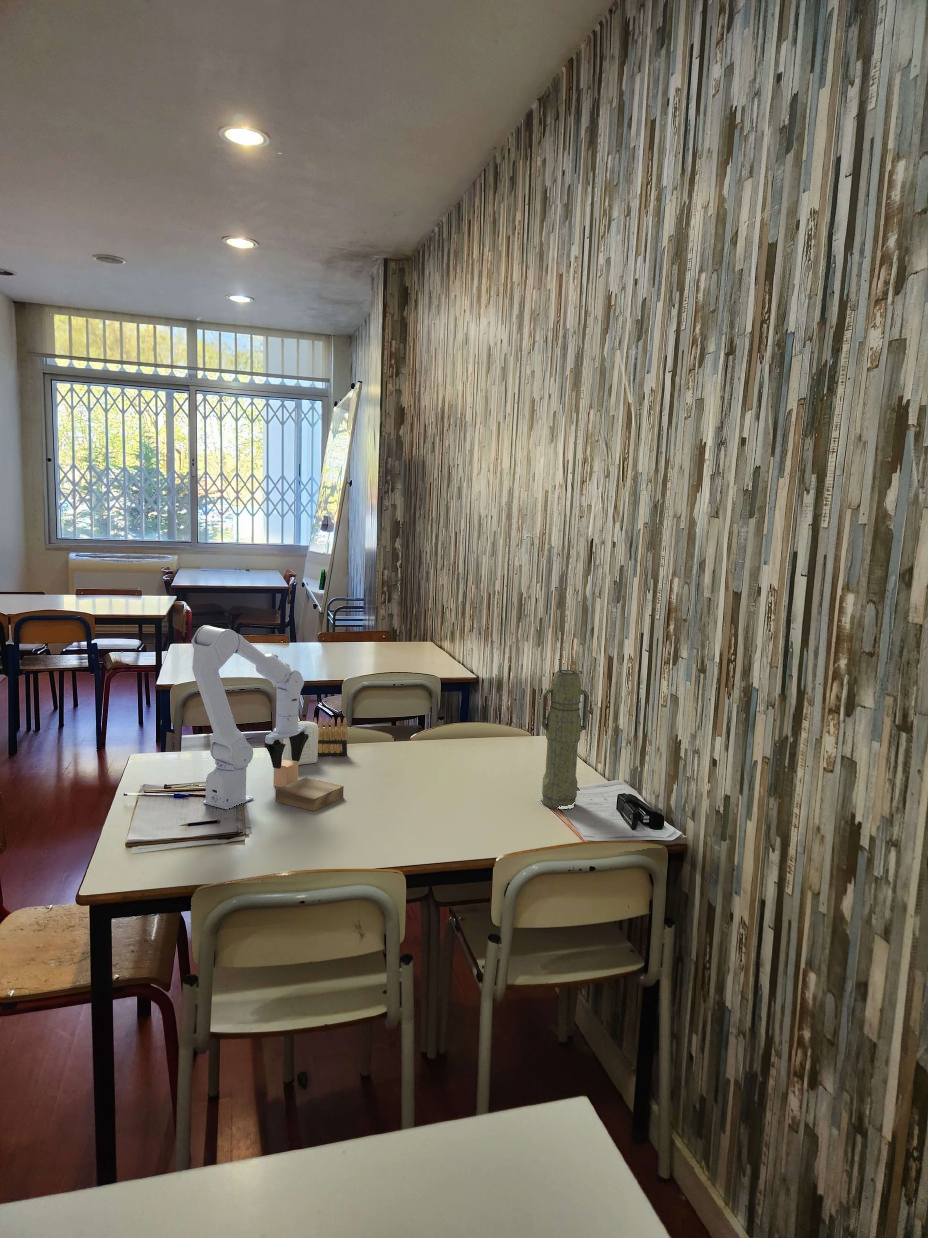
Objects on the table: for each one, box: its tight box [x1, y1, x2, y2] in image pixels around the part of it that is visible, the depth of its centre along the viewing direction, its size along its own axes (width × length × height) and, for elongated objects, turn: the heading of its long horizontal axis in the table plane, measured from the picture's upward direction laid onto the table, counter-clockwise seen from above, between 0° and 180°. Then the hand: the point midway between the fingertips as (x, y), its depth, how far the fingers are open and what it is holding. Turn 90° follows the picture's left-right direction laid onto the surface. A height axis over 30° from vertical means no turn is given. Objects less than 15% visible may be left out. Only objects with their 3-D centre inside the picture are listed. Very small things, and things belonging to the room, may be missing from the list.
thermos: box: [540, 669, 590, 810], centre depth 203 cm, size 9×12×35 cm
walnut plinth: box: [274, 776, 344, 812], centre depth 199 cm, size 12×12×3 cm
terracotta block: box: [273, 759, 299, 788], centre depth 209 cm, size 4×4×6 cm
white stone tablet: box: [282, 720, 319, 766], centre depth 228 cm, size 10×4×12 cm, turn 123°
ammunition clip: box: [312, 716, 348, 758], centre depth 237 cm, size 11×2×12 cm, turn 101°
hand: (286, 764), depth 209 cm, fingers open, 7 cm apart
